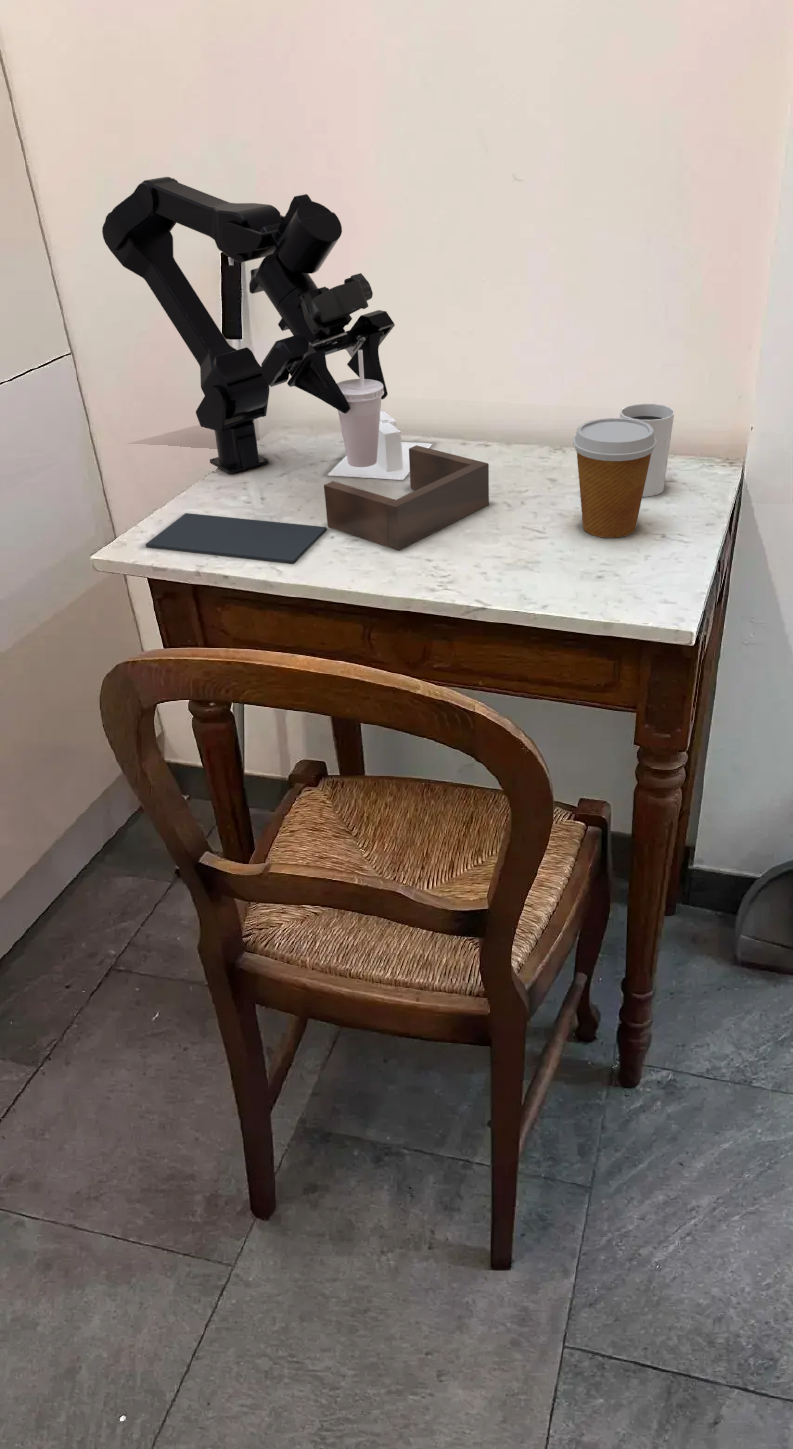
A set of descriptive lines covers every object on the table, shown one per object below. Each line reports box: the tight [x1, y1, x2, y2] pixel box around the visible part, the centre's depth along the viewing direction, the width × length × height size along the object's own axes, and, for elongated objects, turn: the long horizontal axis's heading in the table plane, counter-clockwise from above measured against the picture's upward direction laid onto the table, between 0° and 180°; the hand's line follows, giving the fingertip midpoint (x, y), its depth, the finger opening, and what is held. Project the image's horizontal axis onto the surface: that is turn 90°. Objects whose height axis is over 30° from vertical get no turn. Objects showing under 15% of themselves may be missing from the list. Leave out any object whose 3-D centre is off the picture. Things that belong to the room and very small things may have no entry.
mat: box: [145, 512, 328, 564], centre depth 131 cm, size 20×10×1 cm, turn 70°
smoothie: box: [336, 350, 384, 467], centre depth 132 cm, size 6×6×14 cm
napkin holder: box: [327, 409, 433, 481], centre depth 151 cm, size 15×11×6 cm
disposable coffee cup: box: [572, 417, 657, 539], centre depth 125 cm, size 10×10×12 cm
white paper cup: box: [619, 403, 675, 498], centre depth 135 cm, size 7×7×10 cm
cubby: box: [323, 445, 490, 551], centre depth 133 cm, size 12×17×6 cm
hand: (366, 404), depth 131 cm, fingers closed on smoothie, 6 cm apart
